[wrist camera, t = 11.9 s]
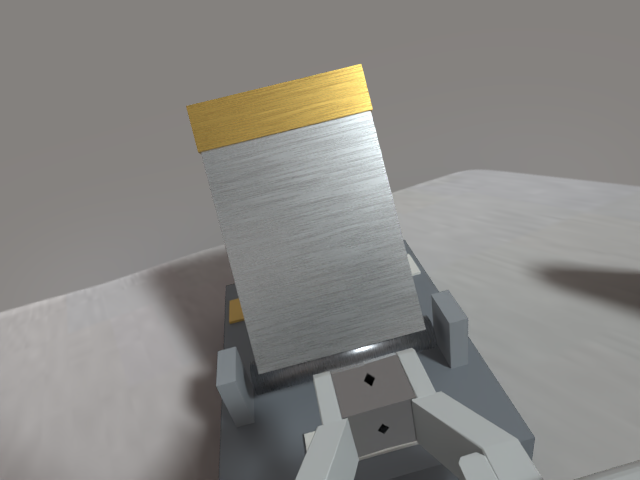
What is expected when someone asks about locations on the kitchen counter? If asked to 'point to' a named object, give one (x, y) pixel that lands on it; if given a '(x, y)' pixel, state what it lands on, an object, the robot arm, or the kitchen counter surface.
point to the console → (303, 412)
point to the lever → (309, 227)
